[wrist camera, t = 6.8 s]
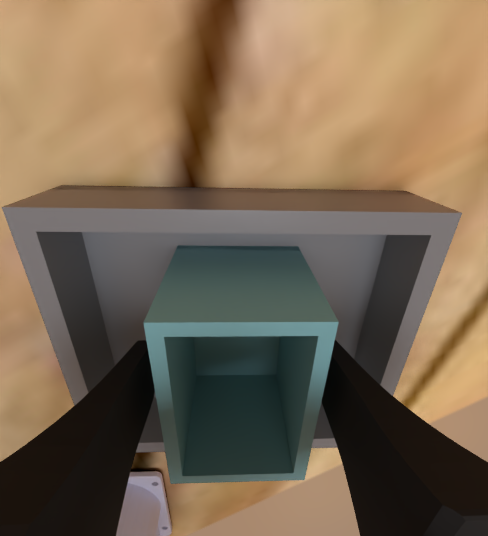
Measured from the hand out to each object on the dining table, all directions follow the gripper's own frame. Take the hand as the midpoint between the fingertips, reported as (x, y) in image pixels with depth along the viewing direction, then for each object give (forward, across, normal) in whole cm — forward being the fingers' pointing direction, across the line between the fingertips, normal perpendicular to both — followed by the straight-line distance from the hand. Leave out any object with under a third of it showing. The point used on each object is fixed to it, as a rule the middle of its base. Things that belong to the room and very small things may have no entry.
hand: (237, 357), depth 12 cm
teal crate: (+3, 0, 0) cm, 3 cm away
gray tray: (+3, 0, 0) cm, 3 cm away
